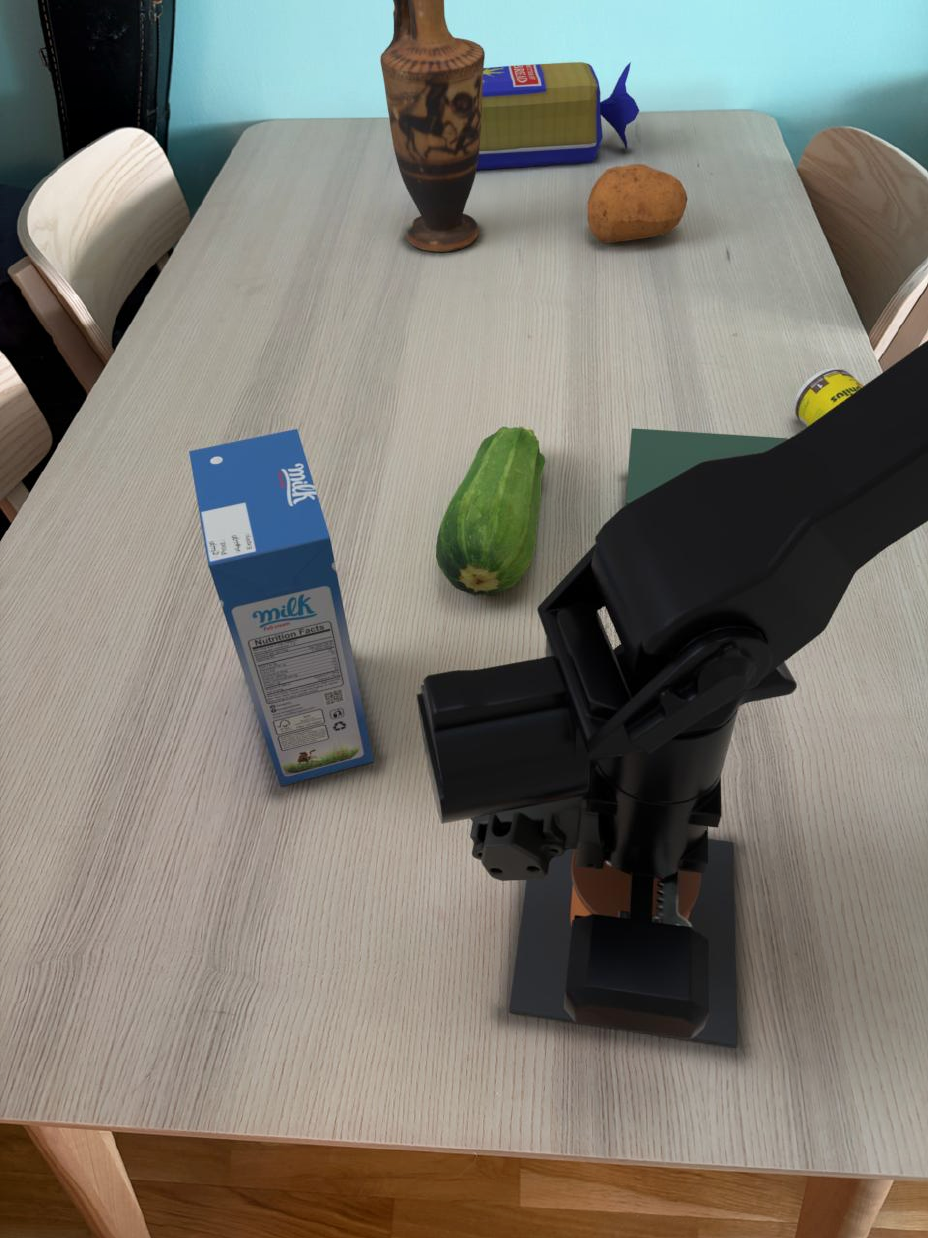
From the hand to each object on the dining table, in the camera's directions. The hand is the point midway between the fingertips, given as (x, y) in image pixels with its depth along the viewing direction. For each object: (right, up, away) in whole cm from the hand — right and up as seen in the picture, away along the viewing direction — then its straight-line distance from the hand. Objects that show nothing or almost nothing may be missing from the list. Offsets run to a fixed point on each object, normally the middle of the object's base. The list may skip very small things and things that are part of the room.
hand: (629, 911), depth 54 cm
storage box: (+10, +25, +25) cm, 36 cm away
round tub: (0, -1, +1) cm, 1 cm away
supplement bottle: (+22, +36, +31) cm, 53 cm away
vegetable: (-6, +24, +25) cm, 35 cm away
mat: (0, -1, +1) cm, 2 cm away
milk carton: (-20, +9, +13) cm, 25 cm away
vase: (-12, +61, +60) cm, 87 cm away
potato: (+11, +61, +59) cm, 85 cm away
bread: (0, +78, +75) cm, 109 cm away
